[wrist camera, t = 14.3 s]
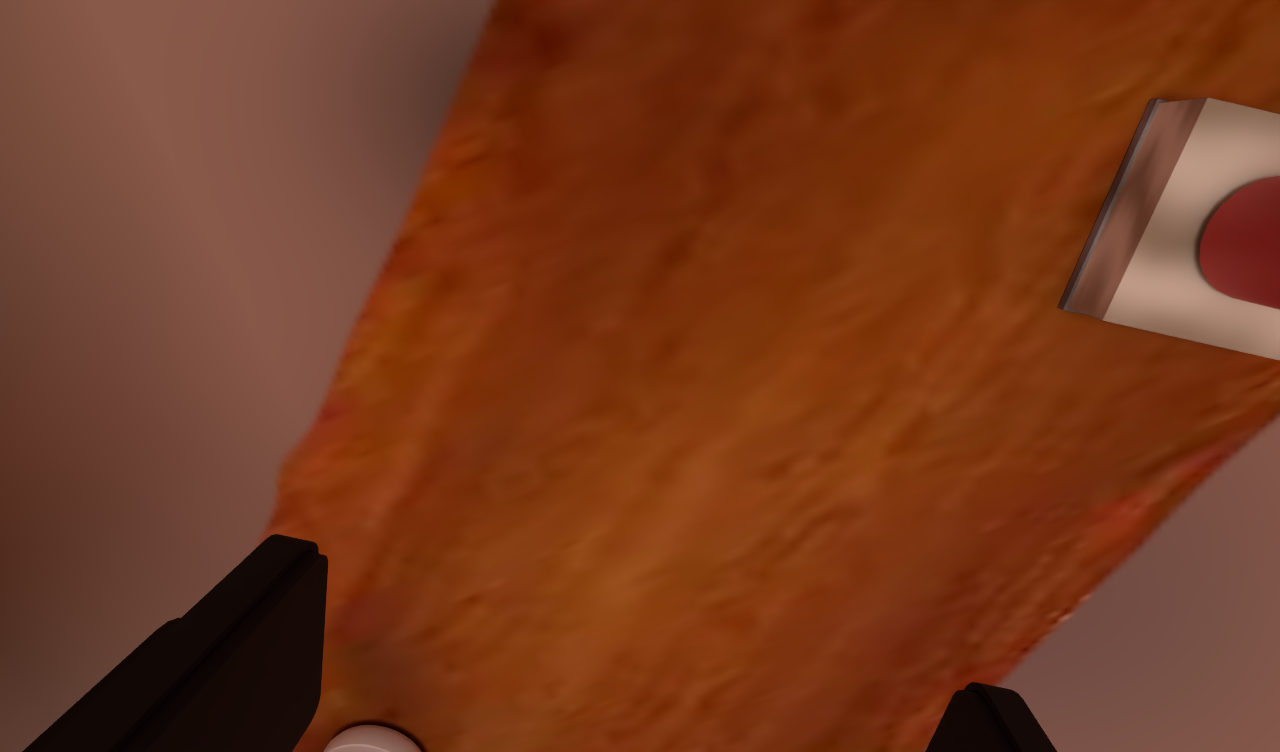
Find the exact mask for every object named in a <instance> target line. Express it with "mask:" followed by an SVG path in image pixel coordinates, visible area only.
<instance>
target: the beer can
mask: <svg viewBox="0 0 1280 752" xmlns="http://www.w3.org/2000/svg"><path fill="white" fill-rule="evenodd" d="M1199 261H1200V264H1201V267H1202V270H1203V273H1204V276H1205V277H1206V279H1207V280H1208V281H1209V282H1210V283H1211V284H1212V285H1213V287H1214V288H1215V289H1216V290H1217V291H1219V292H1221V293H1223V294H1225V295H1227V296H1229V297H1231V298H1234V299H1238V300H1242V301H1246V302H1250V303H1254V304H1259V305H1263V306H1267V307H1271V308H1275V309H1279V310H1280V176H1276V177H1271V178H1266V179H1261V180H1259V181H1257V182H1255V183H1253V184H1251V185H1249V186H1247V187H1245V188H1243V189H1241V190H1239V191H1238V192H1236V193H1235V194H1234V195H1233V196H1232V197H1230V198H1229V199H1228V200H1227V201H1226V202H1224V203H1223V204H1222V205H1221V206H1220V207H1219V209H1218V210H1217V211H1216V213H1215V214H1214V216H1213V217H1212V218H1211V220H1210V221H1209V222H1208V224H1207V227H1206V229H1205V232H1204V234H1203V237H1202V240H1201V242H1200V260H1199Z"/></svg>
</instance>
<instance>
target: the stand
mask: <svg viewBox="0 0 1280 752" xmlns="http://www.w3.org/2000/svg"><path fill="white" fill-rule="evenodd" d="M1276 176H1280V114H1276V113H1272V112H1268V111H1263V110H1259V109H1255V108H1251V107H1246V106H1242V105H1238V104H1233V103H1229V102H1225V101H1221V100H1216V99H1212V98H1200V99H1191V100H1183V101H1174V102H1170V101H1166V100H1161V99H1151V100H1150V101H1149V103H1148V106H1147V108H1146V110H1145V112H1144V115H1143V117H1142V119H1141V121H1140V124H1139V126H1138V128H1137V130H1136V133H1135V135H1134V137H1133V139H1132V142H1131V144H1130V146H1129V148H1128V151H1127V153H1126V155H1125V157H1124V160H1123V162H1122V164H1121V166H1120V169H1119V171H1118V173H1117V175H1116V177H1115V180H1114V182H1113V184H1112V186H1111V189H1110V191H1109V193H1108V195H1107V198H1106V200H1105V202H1104V204H1103V207H1102V209H1101V211H1100V213H1099V216H1098V218H1097V220H1096V222H1095V225H1094V227H1093V229H1092V231H1091V234H1090V236H1089V238H1088V240H1087V243H1086V245H1085V247H1084V249H1083V252H1082V254H1081V256H1080V258H1079V261H1078V263H1077V265H1076V267H1075V270H1074V272H1073V274H1072V276H1071V279H1070V281H1069V283H1068V285H1067V288H1066V290H1065V292H1064V294H1063V296H1062V299H1061V301H1060V303H1059V305H1058V308H1060V309H1063V310H1067V311H1071V312H1076V313H1080V314H1084V315H1089V316H1092V317H1095V318H1097V319H1100V320H1103V321H1108V322H1112V323H1116V324H1121V325H1125V326H1130V327H1134V328H1139V329H1143V330H1147V331H1152V332H1156V333H1161V334H1165V335H1170V336H1174V337H1179V338H1183V339H1187V340H1192V341H1196V342H1201V343H1205V344H1210V345H1214V346H1218V347H1223V348H1227V349H1232V350H1236V351H1241V352H1245V353H1249V354H1254V355H1258V356H1263V357H1267V358H1272V359H1276V360H1280V310H1279V309H1275V308H1271V307H1267V306H1263V305H1259V304H1254V303H1250V302H1246V301H1242V300H1238V299H1234V298H1231V297H1229V296H1227V295H1225V294H1223V293H1221V292H1219V291H1217V290H1216V289H1215V288H1214V287H1213V285H1212V284H1211V283H1210V282H1209V281H1208V280H1207V279H1206V277H1205V276H1204V273H1203V270H1202V267H1201V264H1200V261H1199V260H1200V242H1201V240H1202V237H1203V234H1204V232H1205V229H1206V227H1207V224H1208V222H1209V221H1210V220H1211V218H1212V217H1213V216H1214V214H1215V213H1216V211H1217V210H1218V209H1219V207H1220V206H1221V205H1222V204H1223V203H1224V202H1226V201H1227V200H1228V199H1229V198H1230V197H1232V196H1233V195H1234V194H1235V193H1236V192H1238V191H1239V190H1241V189H1243V188H1245V187H1247V186H1249V185H1251V184H1253V183H1255V182H1257V181H1259V180H1261V179H1266V178H1271V177H1276Z"/></svg>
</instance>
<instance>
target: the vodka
mask: <svg viewBox="0 0 1280 752" xmlns="http://www.w3.org/2000/svg"><path fill="white" fill-rule="evenodd" d="M324 752H422V751H421V750H420V748H419V747H418V746H417V745H416V744H415V743H414V742H413V741H412V740H411V739H409V738H408V737H407V736H405V735H403V734H402V733H400V732H398V731H395V730H393V729H390V728H387V727H383V726H377V725H360V726H355V727H352V728H349V729H347V730H345V731H343V732H342V733H340V734H339V735H337V736H336V737H335V738H333V739H332V740H331V741H330V742H329V743H328V745H327V746H326V748H325V750H324Z"/></svg>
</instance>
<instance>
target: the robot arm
mask: <svg viewBox="0 0 1280 752" xmlns="http://www.w3.org/2000/svg"><path fill="white" fill-rule="evenodd" d="M327 574H328V559H327V556H325V555H321V554H319V552H318V546H317V544H316V543H314V542H311V541H307V540H302V539H297V538H292V537H288V536H283V535H278V534H275V535H271V536H270V537H268V538H267V539H266V540H265V541H264V542H263V543H261V544H260V545H259V546H258V547H257V548H256V549H255V550H254V551H253V552H252V553H251V554H250V555H249V556H247V557H246V558H245V559H244V560H243V561H242V562H241V563H240V564H239V565H238V566H237V567H236V568H234V569H233V570H232V571H231V572H230V573H229V574H228V575H227V576H226V577H225V578H224V579H223V580H222V581H220V582H219V583H218V584H217V585H216V586H215V587H214V588H213V589H212V590H211V591H210V592H209V593H208V594H206V595H205V596H204V597H203V598H202V599H201V600H200V601H199V602H198V603H197V604H196V605H195V606H194V607H192V608H191V609H190V610H189V611H188V612H187V613H186V614H185V615H184V616H183V617H182V618H176V619H174V620H171V621H168V622H167V623H165V624H164V625H163V626H161V627H160V628H159V629H157V630H156V631H155V632H154V633H153V634H152V635H150V636H149V637H148V638H147V639H146V640H145V641H144V642H143V643H142V644H140V645H139V646H138V647H137V648H136V649H135V650H134V651H133V652H132V653H131V654H130V655H128V656H127V657H126V658H125V659H124V660H123V661H122V662H121V663H120V664H119V665H117V666H116V667H115V668H114V669H113V670H112V671H111V672H110V673H108V675H106V676H105V677H104V678H103V679H102V680H101V681H100V682H99V683H97V685H95V686H94V687H93V688H92V689H91V690H90V691H89V692H88V693H86V694H85V695H84V696H83V697H82V698H81V699H80V700H79V701H78V702H77V703H76V704H74V705H73V706H72V707H71V708H70V709H69V710H68V711H67V712H65V714H63V715H62V716H61V717H60V718H59V719H58V720H57V721H56V722H54V724H52V725H51V726H50V727H49V728H48V729H47V730H46V731H45V732H43V733H42V734H41V735H40V736H39V737H38V738H37V739H36V740H35V741H33V742H32V743H31V744H30V745H29V746H28V747H27V748H26V749H25V750H24V751H23V752H292V751H293V749H294V748H295V746H296V745H297V743H298V742H299V740H300V738H301V737H302V735H303V734H304V732H305V731H306V729H307V728H308V726H309V724H310V723H311V721H312V719H313V717H314V715H315V713H316V710H317V707H318V704H319V700H320V694H321V678H322V660H323V643H324V626H325V608H326V591H327ZM925 752H1057V751H1056V749H1055V748H1054V746H1053V745H1052V743H1051V742H1050V740H1049V739H1048V737H1047V735H1046V734H1045V732H1044V731H1043V729H1042V728H1041V726H1040V725H1039V723H1038V722H1037V720H1036V719H1035V717H1034V715H1033V714H1032V712H1031V711H1030V709H1029V708H1028V706H1027V705H1026V703H1025V701H1024V700H1023V699H1022V697H1020V695H1019V694H1018V693H1016V692H1015V691H1013V690H1010V689H1005V688H1001V687H996V686H991V685H986V684H982V683H975V682H972V683H970V684H968V685H967V686H966V688H965V689H964V690H958V691H957V692H955V694H954V695H953V697H952V699H951V701H950V703H949V705H948V707H947V709H946V711H945V713H944V715H943V717H942V719H941V721H940V723H939V725H938V727H937V729H936V731H935V733H934V735H933V737H932V739H931V741H930V743H929V745H928V747H927V749H926V751H925Z"/></svg>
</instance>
